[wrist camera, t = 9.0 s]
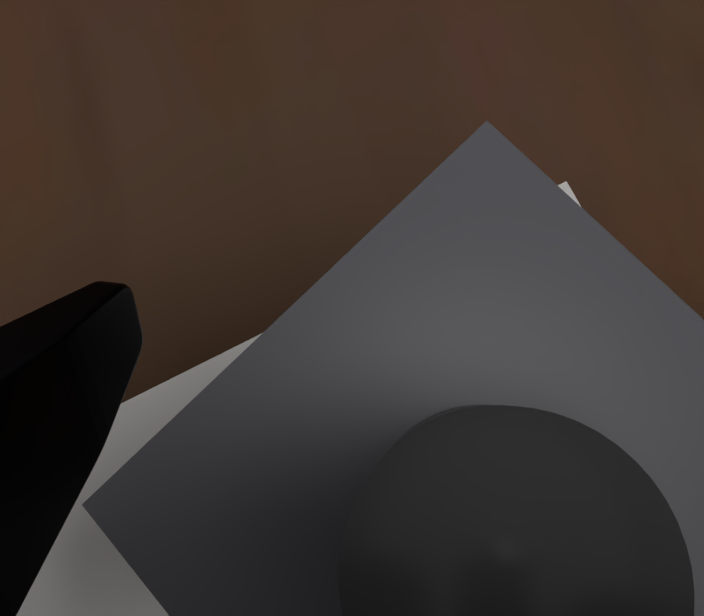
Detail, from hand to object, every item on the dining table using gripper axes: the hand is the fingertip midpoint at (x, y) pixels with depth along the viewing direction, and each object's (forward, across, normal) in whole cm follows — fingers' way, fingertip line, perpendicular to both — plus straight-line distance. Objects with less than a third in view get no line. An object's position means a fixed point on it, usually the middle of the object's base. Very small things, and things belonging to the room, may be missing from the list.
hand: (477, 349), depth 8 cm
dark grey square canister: (+5, 0, +8) cm, 9 cm away
